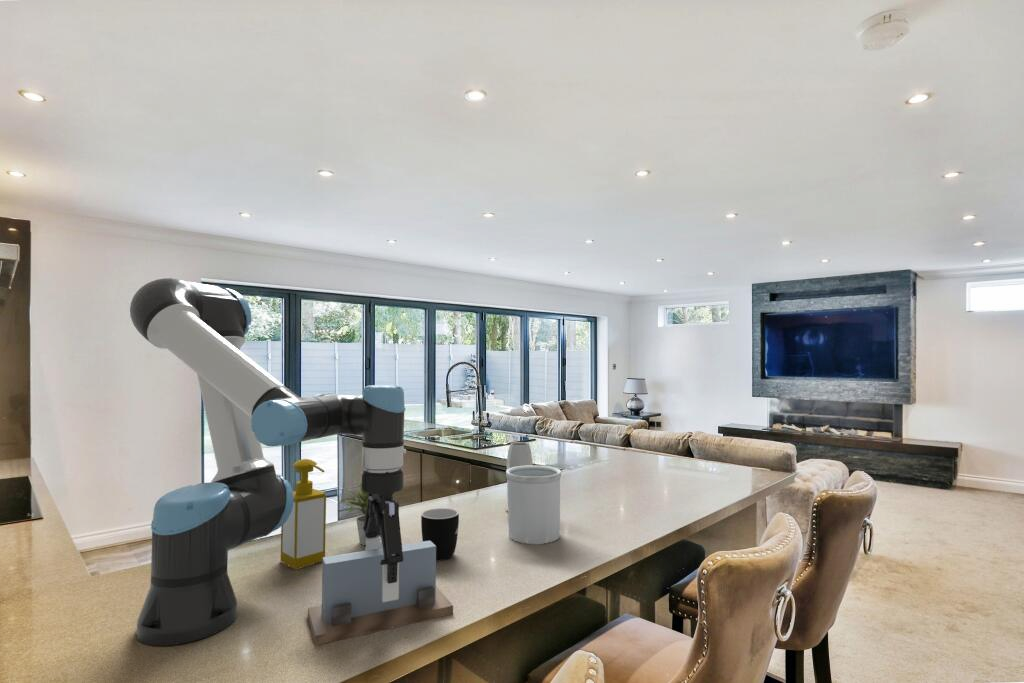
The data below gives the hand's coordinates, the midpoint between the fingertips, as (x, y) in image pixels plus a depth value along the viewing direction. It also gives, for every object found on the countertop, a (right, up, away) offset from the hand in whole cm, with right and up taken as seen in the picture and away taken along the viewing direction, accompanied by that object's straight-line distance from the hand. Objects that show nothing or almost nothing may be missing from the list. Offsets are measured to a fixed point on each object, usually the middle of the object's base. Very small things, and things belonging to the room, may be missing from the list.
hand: (380, 585), depth 97 cm
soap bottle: (-23, -7, +24) cm, 34 cm away
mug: (+6, -7, +31) cm, 32 cm away
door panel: (0, -4, 0) cm, 4 cm away
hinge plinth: (0, -5, 0) cm, 5 cm away
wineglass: (+26, -9, +68) cm, 74 cm away
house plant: (-13, -7, +40) cm, 43 cm away
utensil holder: (+30, -8, +44) cm, 54 cm away
